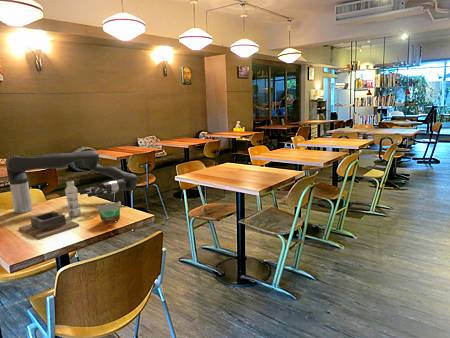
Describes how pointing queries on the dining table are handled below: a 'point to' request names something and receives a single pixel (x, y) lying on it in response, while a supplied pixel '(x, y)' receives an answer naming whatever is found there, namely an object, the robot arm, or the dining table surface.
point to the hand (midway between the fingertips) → (83, 194)
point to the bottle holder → (48, 225)
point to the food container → (109, 212)
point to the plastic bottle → (72, 199)
